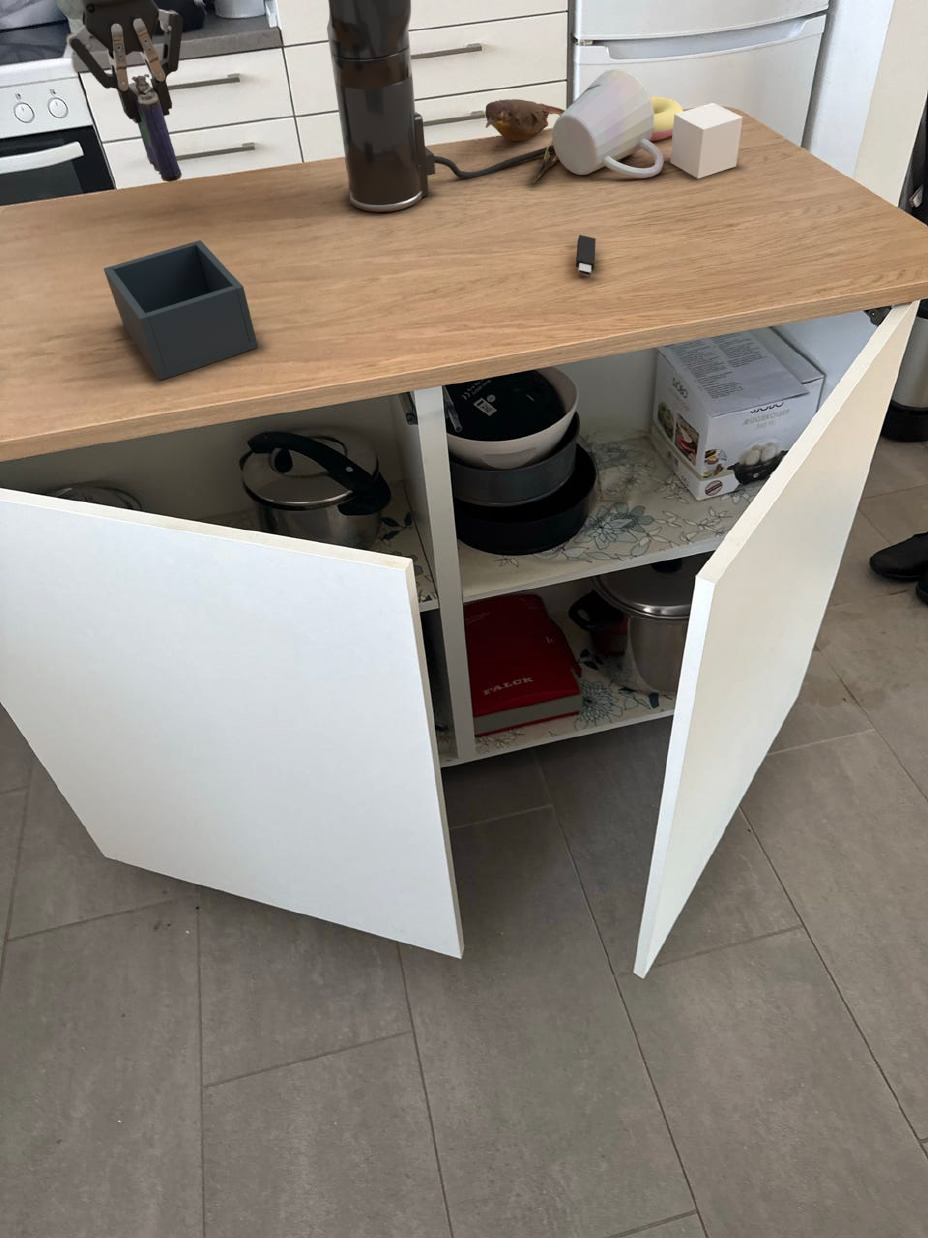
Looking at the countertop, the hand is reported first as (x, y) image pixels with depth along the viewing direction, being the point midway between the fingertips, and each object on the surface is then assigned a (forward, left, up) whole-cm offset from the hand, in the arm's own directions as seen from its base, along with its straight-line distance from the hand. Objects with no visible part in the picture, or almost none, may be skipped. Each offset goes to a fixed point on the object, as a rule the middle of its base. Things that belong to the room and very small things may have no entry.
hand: (150, 116), depth 114 cm
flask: (0, 0, -6) cm, 6 cm away
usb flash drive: (-34, +43, -10) cm, 56 cm away
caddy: (+9, +32, -11) cm, 35 cm away
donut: (-65, +22, -10) cm, 69 cm away
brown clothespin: (-45, +19, -12) cm, 50 cm away
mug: (-46, +25, -9) cm, 54 cm away
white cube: (-60, +34, -4) cm, 69 cm away
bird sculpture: (-48, +8, -12) cm, 50 cm away
